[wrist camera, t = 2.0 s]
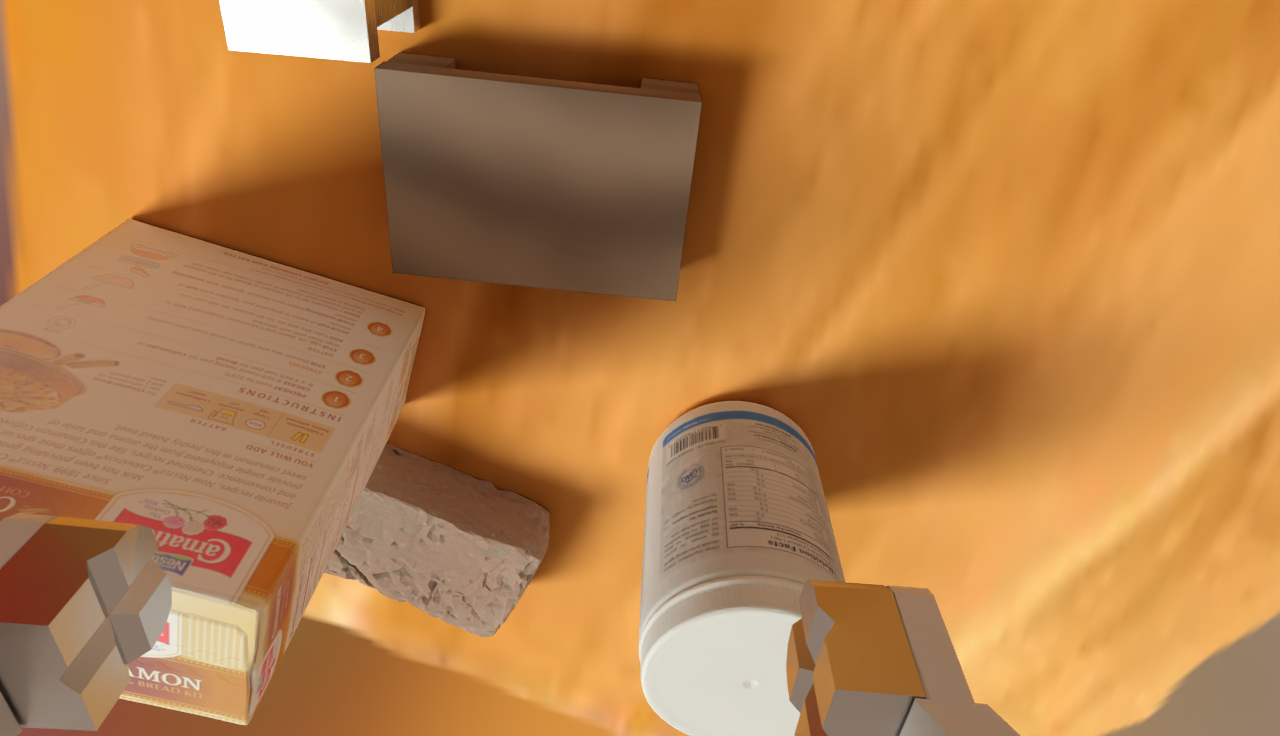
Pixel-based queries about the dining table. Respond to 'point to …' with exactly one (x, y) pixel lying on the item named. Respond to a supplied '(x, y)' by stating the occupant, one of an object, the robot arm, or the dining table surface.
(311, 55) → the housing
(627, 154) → the stand
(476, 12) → the dining table surface
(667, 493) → the supplement tub
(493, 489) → the brick
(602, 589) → the dining table surface
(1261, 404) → the dining table surface
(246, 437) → the coffeecake box
